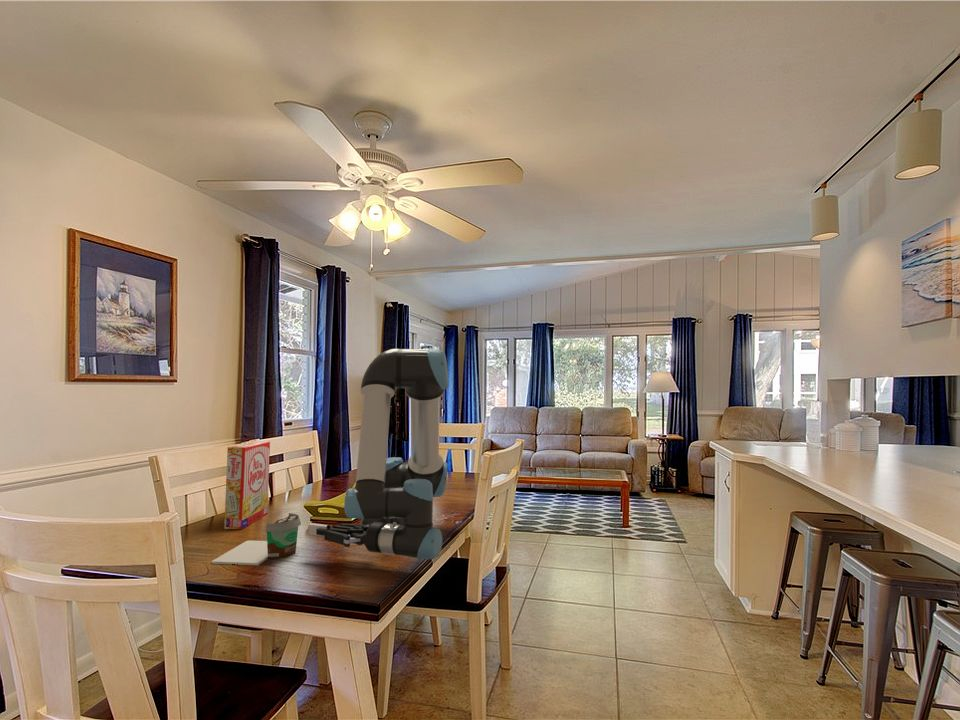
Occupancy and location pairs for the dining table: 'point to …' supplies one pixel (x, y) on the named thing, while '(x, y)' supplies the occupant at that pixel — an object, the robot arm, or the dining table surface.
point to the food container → (282, 537)
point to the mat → (245, 554)
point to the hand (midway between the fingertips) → (310, 528)
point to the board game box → (246, 484)
